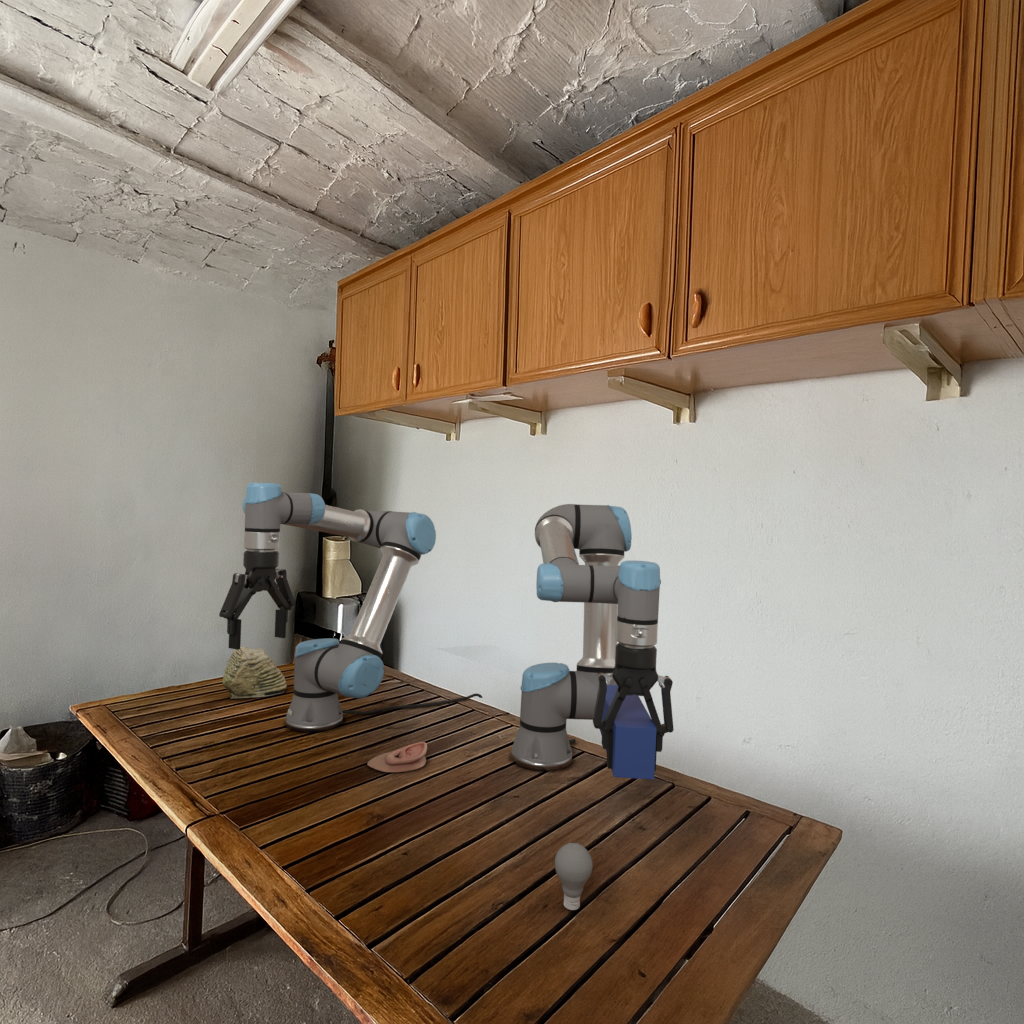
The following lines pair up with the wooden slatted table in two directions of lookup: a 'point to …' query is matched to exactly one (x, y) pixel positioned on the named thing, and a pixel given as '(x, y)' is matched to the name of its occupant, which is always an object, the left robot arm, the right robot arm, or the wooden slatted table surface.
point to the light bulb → (573, 872)
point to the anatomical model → (401, 759)
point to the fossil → (252, 674)
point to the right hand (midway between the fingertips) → (630, 766)
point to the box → (631, 738)
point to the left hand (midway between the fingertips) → (258, 642)
